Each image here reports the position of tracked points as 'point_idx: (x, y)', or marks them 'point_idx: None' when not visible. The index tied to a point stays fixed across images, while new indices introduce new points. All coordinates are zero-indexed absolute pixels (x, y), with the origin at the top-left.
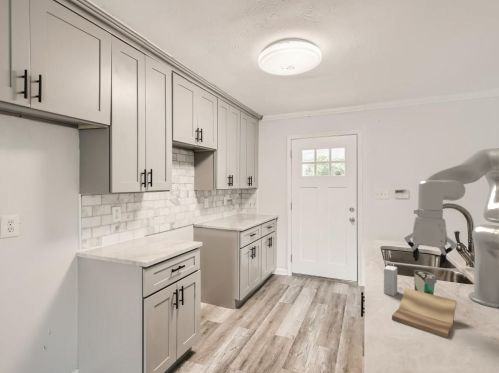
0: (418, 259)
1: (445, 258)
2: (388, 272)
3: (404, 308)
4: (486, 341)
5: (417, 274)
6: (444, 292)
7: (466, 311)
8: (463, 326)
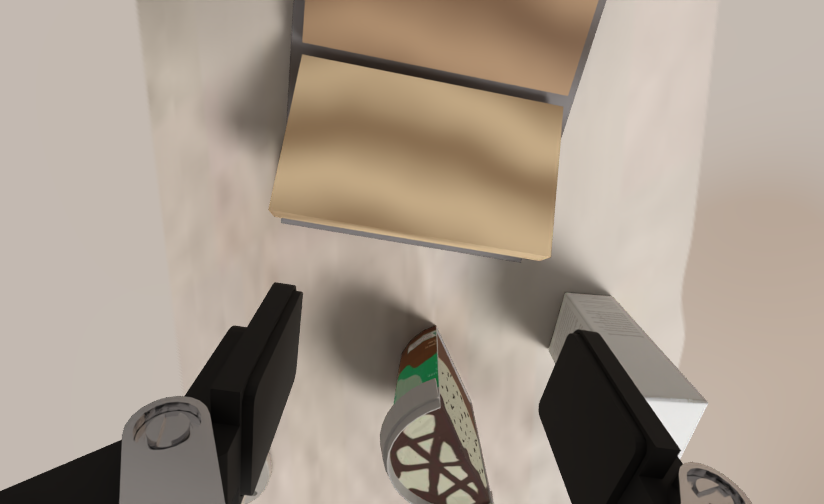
0: (542, 398)
1: (204, 375)
2: (666, 384)
3: (536, 108)
4: (170, 35)
5: (476, 474)
6: (358, 462)
7: None
8: (269, 149)
